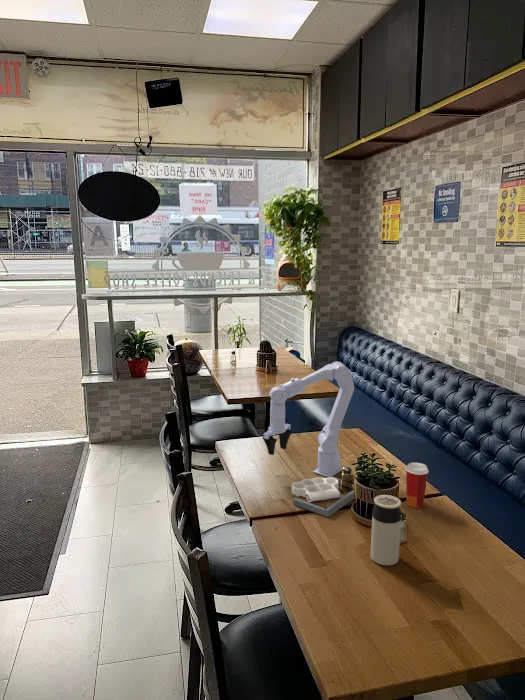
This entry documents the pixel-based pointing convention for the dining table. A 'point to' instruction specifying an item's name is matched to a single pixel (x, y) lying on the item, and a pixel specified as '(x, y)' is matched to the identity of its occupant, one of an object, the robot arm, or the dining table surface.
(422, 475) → the paper cup
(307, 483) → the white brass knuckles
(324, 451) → the robot arm
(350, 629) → the dining table surface
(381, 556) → the travel mug
